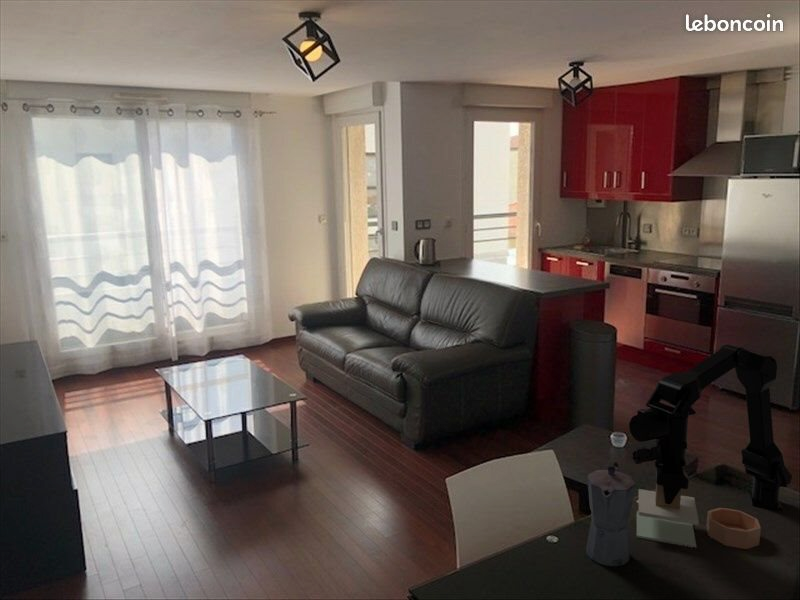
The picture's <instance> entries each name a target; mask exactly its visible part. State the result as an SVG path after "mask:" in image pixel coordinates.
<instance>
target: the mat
mask: <svg viewBox="0 0 800 600" xmlns="http://www.w3.org/2000/svg"><path fill="white" fill-rule="evenodd" d="M636 538H637V539H638V538H639V539H643V540H649V541H655V542H660V543H661V542H662V543H666V544H672V545H676V544H677V545H676V546H682V547H687V546H688V548H693V547H695V548H694V549H696V548H697V542H696V537H695V531H694V525H693V524H688V523H682V522H676V521H670V520H664V519H658V518H652V517H646V516H640V515H639V510H636ZM683 545H684V546H683Z"/></svg>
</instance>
